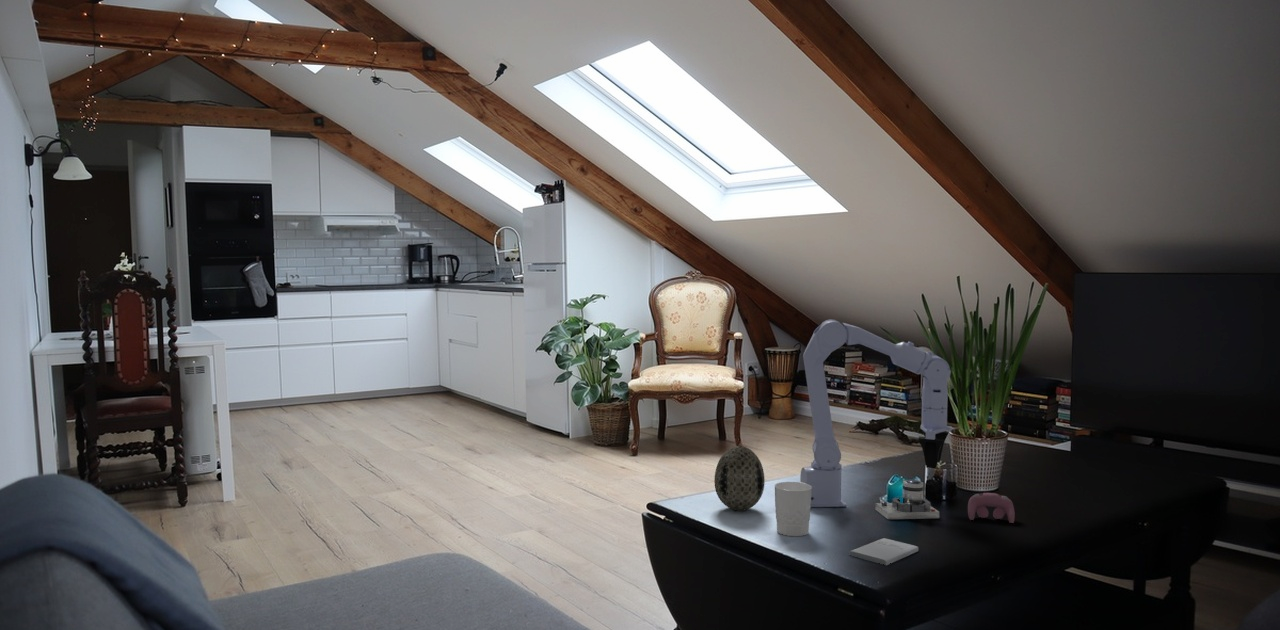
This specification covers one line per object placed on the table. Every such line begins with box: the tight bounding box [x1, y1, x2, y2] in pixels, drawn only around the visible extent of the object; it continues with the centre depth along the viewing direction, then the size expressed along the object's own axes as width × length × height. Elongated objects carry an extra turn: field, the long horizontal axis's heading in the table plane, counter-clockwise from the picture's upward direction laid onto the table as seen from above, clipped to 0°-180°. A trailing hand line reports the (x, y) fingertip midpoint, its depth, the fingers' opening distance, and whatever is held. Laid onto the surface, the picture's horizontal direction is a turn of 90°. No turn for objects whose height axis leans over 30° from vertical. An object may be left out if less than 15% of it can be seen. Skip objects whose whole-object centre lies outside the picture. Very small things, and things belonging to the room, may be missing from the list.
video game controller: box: [967, 492, 1016, 524], centre depth 202 cm, size 10×5×7 cm, turn 72°
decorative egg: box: [714, 445, 766, 512], centre depth 209 cm, size 12×12×15 cm
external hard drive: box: [849, 537, 919, 566], centre depth 178 cm, size 2×8×12 cm
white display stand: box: [874, 497, 940, 520], centre depth 206 cm, size 12×8×3 cm, turn 95°
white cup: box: [774, 481, 812, 537], centre depth 192 cm, size 8×8×10 cm
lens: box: [902, 479, 924, 505], centre depth 206 cm, size 5×5×6 cm
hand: (933, 464), depth 211 cm, fingers open, 7 cm apart
